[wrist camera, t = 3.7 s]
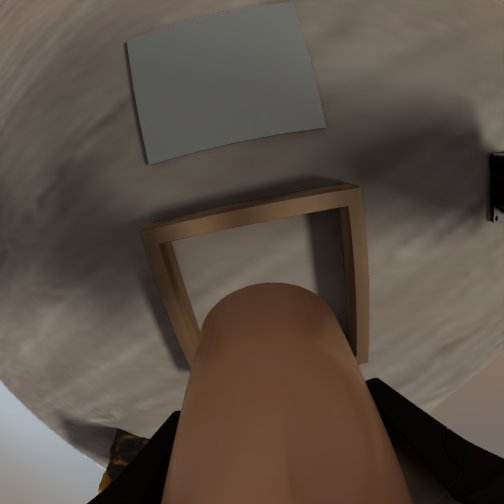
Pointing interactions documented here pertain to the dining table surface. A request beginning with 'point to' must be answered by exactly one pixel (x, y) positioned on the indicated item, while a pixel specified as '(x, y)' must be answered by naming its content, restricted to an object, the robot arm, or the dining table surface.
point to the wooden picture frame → (254, 212)
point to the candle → (121, 455)
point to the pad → (223, 80)
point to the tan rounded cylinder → (279, 410)
